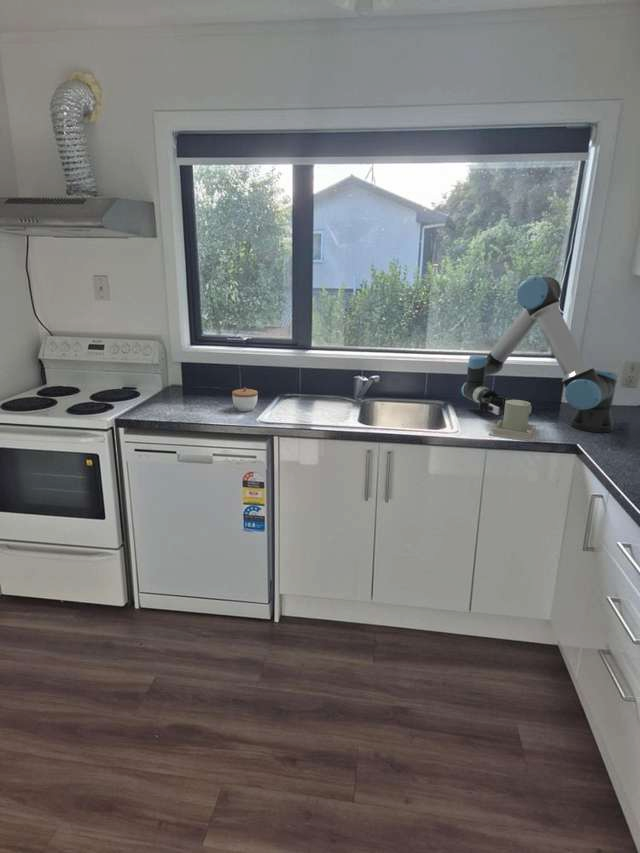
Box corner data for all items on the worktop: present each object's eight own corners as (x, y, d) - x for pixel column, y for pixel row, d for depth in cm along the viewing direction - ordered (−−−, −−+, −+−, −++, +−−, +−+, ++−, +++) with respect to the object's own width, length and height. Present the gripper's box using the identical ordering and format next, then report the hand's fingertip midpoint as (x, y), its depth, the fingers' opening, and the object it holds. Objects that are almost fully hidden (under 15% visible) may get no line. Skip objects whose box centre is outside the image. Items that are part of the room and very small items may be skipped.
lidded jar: (227, 408, 230) (227, 387, 227) (248, 405, 237) (248, 384, 234) (241, 414, 223) (241, 392, 220) (262, 410, 230) (262, 388, 227)
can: (525, 436, 200) (530, 405, 197) (500, 433, 204) (503, 402, 200) (527, 430, 208) (532, 400, 205) (503, 427, 212) (506, 397, 208)
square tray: (496, 424, 216) (497, 418, 216) (538, 431, 209) (539, 424, 209) (488, 435, 203) (489, 428, 202) (533, 442, 196) (534, 435, 195)
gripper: (511, 405, 228) (541, 418, 208) (457, 407, 223) (483, 421, 203) (513, 387, 226) (544, 399, 206) (459, 389, 220) (485, 402, 201)
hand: (514, 410), depth 205 cm, fingers open, 13 cm apart
